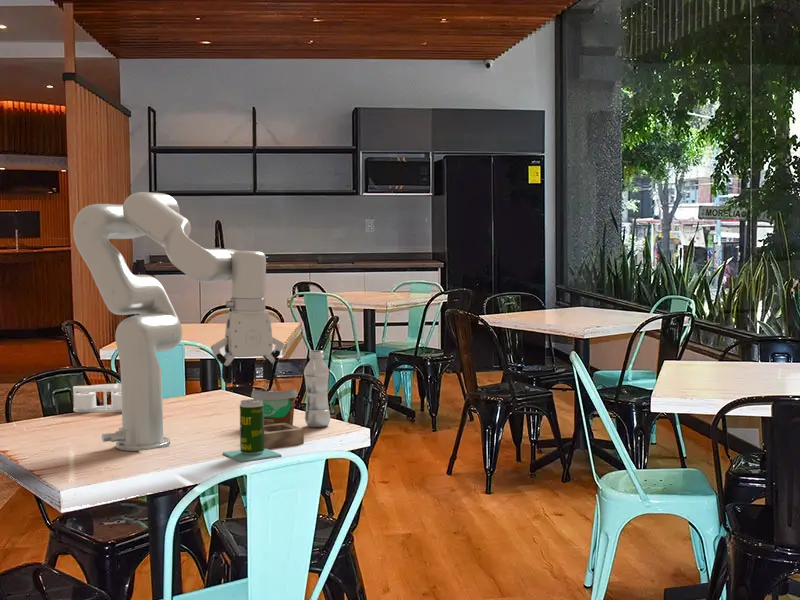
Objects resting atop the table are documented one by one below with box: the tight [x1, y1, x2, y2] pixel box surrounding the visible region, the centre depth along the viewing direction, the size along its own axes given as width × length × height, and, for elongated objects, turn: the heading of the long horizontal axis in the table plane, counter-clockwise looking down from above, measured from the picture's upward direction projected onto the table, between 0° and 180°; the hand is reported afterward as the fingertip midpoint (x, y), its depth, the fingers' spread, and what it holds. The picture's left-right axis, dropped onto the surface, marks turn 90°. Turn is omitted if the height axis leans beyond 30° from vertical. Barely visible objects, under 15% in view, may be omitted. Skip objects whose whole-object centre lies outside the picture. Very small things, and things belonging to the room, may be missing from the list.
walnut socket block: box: [264, 423, 305, 449], centre depth 232 cm, size 10×10×4 cm
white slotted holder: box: [72, 383, 122, 413], centre depth 277 cm, size 20×11×7 cm, turn 86°
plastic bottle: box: [303, 349, 331, 428], centre depth 250 cm, size 6×7×20 cm
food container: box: [250, 387, 298, 426], centre depth 250 cm, size 12×6×10 cm, turn 81°
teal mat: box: [222, 448, 282, 463], centre depth 218 cm, size 10×10×1 cm
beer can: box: [239, 398, 264, 456], centre depth 218 cm, size 5×5×12 cm
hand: (247, 381), depth 217 cm, fingers open, 9 cm apart
